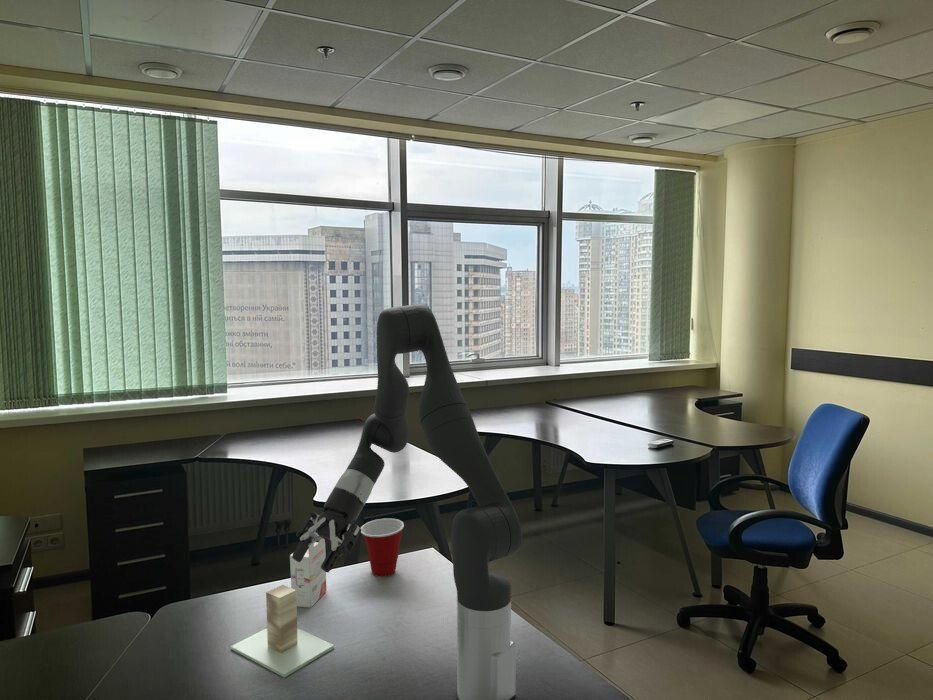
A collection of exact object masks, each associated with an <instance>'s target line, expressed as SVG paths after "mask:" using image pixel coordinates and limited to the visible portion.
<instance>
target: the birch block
mask: <svg viewBox="0 0 933 700" xmlns="http://www.w3.org/2000/svg"><path fill="white" fill-rule="evenodd" d="M265 596H266V597H265V599H266V601H265V603H266V606H265V607H266V628H267V640H268V647H269V648H271V649H273V650H275V651H277V652H279V653H283V652H284V651H286V650H288V649H290V648H291V647H293V646H295V645H297V644H298V640H297V628H298V612H297V611H298V606H297V600H296V590H295V589H292V588H291V587H289V586H288V585H287V586H286V585H284V584H282V585H279V586H277V587H274V588H273V589H270V590H268V591H266V592H265Z"/></svg>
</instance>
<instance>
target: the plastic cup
mask: <svg viewBox="0 0 933 700" xmlns="http://www.w3.org/2000/svg"><path fill="white" fill-rule="evenodd" d="M404 527H405V524H404V521H402V520H400V519H397V518H379V519H374V520H371V521H367V522H366V523H365V524H363V525H362V526H360V527H359V528H360V529H361V533H360V534H362V536H363V538H364V541H365V545H366V551H367V556H368V560H369V564H370V569H371V574H372V575H373V576H376V577H381V578H382V577H389V576H392V575H394V573H395V571H396V569H397V564H398V559H399V552H400V551H399V550H400V544H401V538H402V533H403V529H404Z"/></svg>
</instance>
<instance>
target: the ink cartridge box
mask: <svg viewBox="0 0 933 700" xmlns="http://www.w3.org/2000/svg"><path fill="white" fill-rule="evenodd" d="M325 541H326V539H323V538H322V539H320V540H319V541H318V542H317V541H315V542H313V543H312V544H311V545H309V548H308V550H307V552H306V553H305V555H304V557H303V559H302V560H301V562H297V561H295V560H294V559H293V558H292V556H293V552H292V553H291V554H290V555H289V565H290V566H289V567H290V569H289V570H290V586H291V587H290V588H292V589H295V590H296V600H297V607H302V608H312V607H313V606H315V604H316V603H317V602H318V600H319V599H321V597H322V596H323V595H324V594H325V593H326V591H327V572H325V571H324V570H322V569H321V565H322V563H323V561H324V560H325V558H326V556H327V554H326V542H325Z"/></svg>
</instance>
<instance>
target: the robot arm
mask: <svg viewBox="0 0 933 700" xmlns="http://www.w3.org/2000/svg"><path fill="white" fill-rule="evenodd" d="M419 351H421V353H422V354H423V357H424V359H425V365H426V374H425V380H424V384H423V388H422V392H421V394H420V399H419V403H418V408H417V409H418V410H417V411H418V419H419V422H420V425H421V428H422V431H423V434H424V435H425V439H426V442H427V444H428V446H429V448H430V449H431V451H432V452H433V453H434V455H435V456H436V457H437V458H438V459H440V460H441V462H443V463H444V464H445V465H446V466H447V467H448V468H449V469H450V470H452V471H453V472H454V473H455V474H457V476H458V477H459V478H460V479H461V480H462V481H463V482H464V483H465V484H466V485H467V487H468V489H469V490H470V492H471V494H472V496H473V497H474V499H475V502H476V504H477V506H474V507H470V508H466V509H465V508H464V509H463V510H460V511H458V512H457V513H456V514H455V516H454V518H453V521H452V524H451V548H452V567H453V569H452V570H453V571H452V572H453V573H452V574H453V580H454V584H455V589H456V603H457V604H456V605H457V606H456V611H457V612H456V614H457V615H456V625H457V626H456V627H457V628H456V636H457V637H456V638H457V639H456V646H457V647H456V652H457V653H456V655H457V657H456V664H457V665H456V670H457V671H456V674H457V675H456V676H457V678H456V680H457V682H456V684H457V685H456V687H457V688H456V689H457V690H456V692H457V693H456V694H457V697H458V699H459V700H511V699H512V698H513V697H514V696H516V662H517V661H516V655H517V654H516V647H517V646H516V642H515V641H514V640H511V639H512V638H511V637H512V635H511V634H512V633H511V631H512V629H511V627H512V586H511V582H510V581H509V579H507V578H506V577H505V576H503V575H501V574H498V573H496V572H492V571H489V563H490V562H493V561H496V560H500V559H502V558H506V557H509V556H512V555H514V554H516V553H517V552H518V551H519V550H520V549H521V546H522V544H523V531H522V530H523V529H522V526H521V522H520V520H519V517H518V514H517V511H516V509H515V508H514V506H513V503H512V502H511V501H512V500H511V499H510V497H509V496H508V495H507V494H508V493H506V492H507V491H505V488H504V487H503V485H502V483H501V481H500V478H499V477H498V475H497V473H496V471H495V469H494V467H493V465H492V463H491V460H490V459H489V456H488V454H487V452H486V449H485V447H484V444H483V442H482V440H481V437H480V435H479V432H478V430H477V427H476V424H475V421H474V418H473V416H472V414H471V412H470V409H469V407H468V404H467V402H466V400H465V397H464V395H463V393H462V391H461V389H460V386H459V384H458V381H457V378H456V376H455V373H454V372H453V369H452V365H451V363H450V360H449V358H448V357H449V356H448V354H447V351H446V347H445V344H444V341H443V337H442V334H441V331H440V327H439V325H438V322H437V320H436V317H435V315H434V313H433V311H432V309H431V308H430V307H429V306H428V305H427V304H423V303H414V304H408V305H400V306H393V307H388V308H385V309H383V310H382V311H381V312H380V314H379V316H378V319H377V324H376V363H377V367H376V368H377V387H376V393H375V401H374V408H373V411H374V413H372V414H371V415H369V416H368V417H367V418H366V420H365V422H364V424H363V426H362V431H361V436H360V439H359V443H358V446H357V449H356V452H355V453H354V455H353V458H352V459H351V461H350V462H349V464H348V465H347V468H346V469H345V471H344V472H343V473H342V474H341V476H339V479H338V481H337V482H336V484H335V485H334V487H333V489H332V491H331V492H330V494H329V495H328V497H327V499H326V501H325V502H324V505H323V507H324V509H323V512H322V513H321V514H318V513H316V512H315V511H313V510H311V511H309V513H308V514H307V516H306V518H305V519H304V520H303V522H302V523H301V525H300V526H299V528H298V530H297V531H296V533H295V535H296V537H297V538H298V539H299V541H298V544H297V546H296V548H295V549H294V551H293V552H292V553H293V556H292V558H293V559H294V560H295V561H297V562H301V560H302V559H303V557H304V555H305V553H306V552H307V550H308V548H309V545H311V544H312V543H313V542H315V541H316V542H317V541H318V542H319V540H320V539H322V538H323V539H325V540H329V541H330V547H331V550H329V551H328V552H327V554H326V558H325V560H324V561H323V563H322V565H321V569H322V570H324V571H325V572H326V573H330V571H332V569H333V568H334V567H335V565H336V563H337V562H338V559H339V558H340V557H341V556H343V555H345V556H350V555H351V553H352V551H353V549H354V547H355V545H356V543H357V541H358V539H359V537H360V534H362V533H361V529H360V528H361V527H359V525H357V524H356V521H357V519H358V517H359V515H360V514H361V512H362V510H363V509H364V507H365V505H366V503H367V501H368V499H369V498H370V496H371V494H372V490H373V488H374V486H375V484H376V483H377V481H378V479H379V477H380V476H381V473H382V472H383V470H384V468H385V460H384V459H383V458H382V457H381V455H379V454H378V453H377V452H376V451H374V450H373V449H372V448H371V446H372V445H374V446H376V447H378V448H381V449H383V450H385V451H387V452H388V453H389V452H390V453H399V452H401V451H402V450H404V448H405V447H406V446H407V444H408V441H409V437H410V426H409V420H408V415H407V414H408V413H407V408H408V405H409V404H408V402H409V400H410V399H409V398H410V386H409V383H408V380H407V378H406V376H405V375H404V374H403V373H402V371H401V369H399V367H398V365H397V364H396V356H397V355H400V354H401V355H402V354H408V353H412V352H413V353H414V352H419Z"/></svg>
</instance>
